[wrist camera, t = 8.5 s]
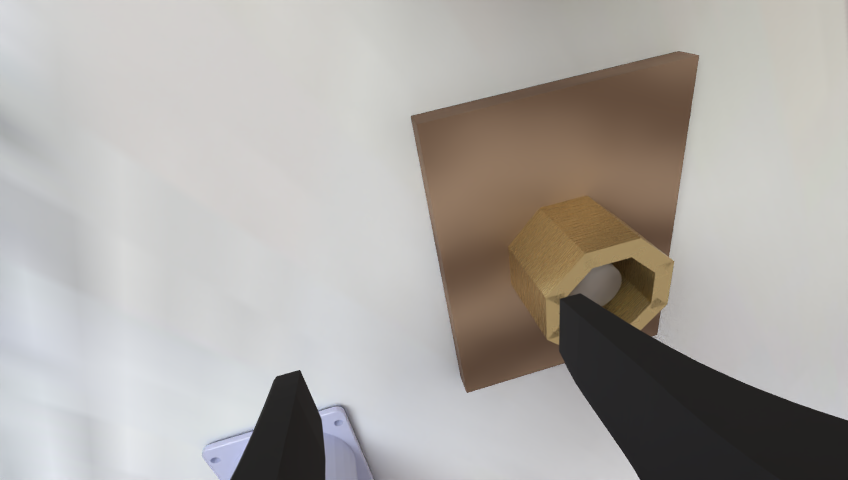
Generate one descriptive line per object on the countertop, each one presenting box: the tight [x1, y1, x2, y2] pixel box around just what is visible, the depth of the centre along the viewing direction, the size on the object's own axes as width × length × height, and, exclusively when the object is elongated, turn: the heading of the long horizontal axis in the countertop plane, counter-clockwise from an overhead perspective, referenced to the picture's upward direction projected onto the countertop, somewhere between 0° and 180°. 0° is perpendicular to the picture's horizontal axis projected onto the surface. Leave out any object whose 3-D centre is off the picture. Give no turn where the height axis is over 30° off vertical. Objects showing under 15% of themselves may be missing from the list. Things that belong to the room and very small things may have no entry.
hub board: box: [411, 51, 699, 393], centre depth 21 cm, size 16×12×4 cm
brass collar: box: [508, 195, 674, 345], centre depth 20 cm, size 6×6×4 cm
